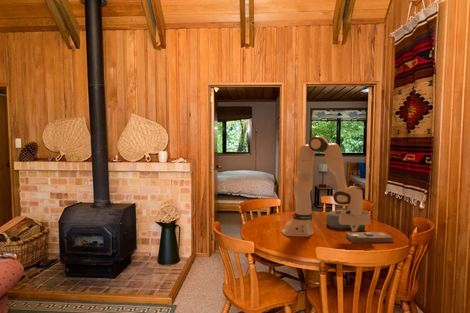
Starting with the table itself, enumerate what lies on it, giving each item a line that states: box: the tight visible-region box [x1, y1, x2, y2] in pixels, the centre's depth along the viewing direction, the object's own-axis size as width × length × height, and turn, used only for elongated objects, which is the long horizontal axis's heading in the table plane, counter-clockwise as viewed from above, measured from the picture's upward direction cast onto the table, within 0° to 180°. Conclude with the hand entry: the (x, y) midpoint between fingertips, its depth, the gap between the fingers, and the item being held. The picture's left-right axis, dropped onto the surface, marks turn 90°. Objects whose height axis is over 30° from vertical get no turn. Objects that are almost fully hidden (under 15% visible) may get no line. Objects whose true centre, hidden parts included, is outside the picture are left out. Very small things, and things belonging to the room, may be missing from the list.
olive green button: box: [363, 231, 373, 236], centre depth 196 cm, size 4×4×2 cm
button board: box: [345, 231, 394, 244], centre depth 196 cm, size 26×12×3 cm, turn 92°
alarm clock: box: [325, 209, 351, 230], centre depth 230 cm, size 19×20×12 cm
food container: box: [350, 225, 366, 232], centre depth 216 cm, size 12×6×10 cm, turn 68°
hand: (354, 231), depth 196 cm, fingers closed
